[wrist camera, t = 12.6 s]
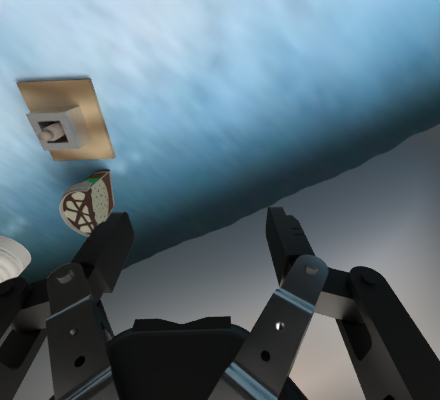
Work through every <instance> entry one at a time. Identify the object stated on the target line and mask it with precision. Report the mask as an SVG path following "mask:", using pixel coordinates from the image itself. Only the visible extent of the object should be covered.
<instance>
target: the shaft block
mask: <svg viewBox="0 0 440 400" xmlns="http://www.w3.org/2000/svg"><path fill="white" fill-rule="evenodd" d="M17 85H18V87H19V89H20V92H21V94H22V96H23V98H24V100H25V102H26V104H27V106H28V108H29V110H30V112H34V111H37V110H40V109H43V108H46V107H67V106H80V108H81V110H82V113H83V116H84V118H85V121H86V124H87V127H88V129H89V132H90V135H91V137H92V140H91V141H89V142H88V143H86V144H85V145H84V146H82V147H81V148H79V149H68V150H49V151H50V153H51V155H52V157H53V159H54V161H65V160H90V159H114V158H115V157H116V156H115V153H114V150H113V147H112V144H111V141H110V137H109V134H108V131H107V128H106V125H105V122H104V119H103V115H102V112H101V109H100V106H99V103H98V100H97V97H96V93H95V90H94V87H93V84H92V81H91V79H79V80H56V81H33V82H18V83H17ZM64 135H65V132H64V130H63V128H62V125H61V123H60V121H58V122H56V123H54V124H52V125H49V126H47V127H45V128H43V129H42V132H41V133H39V134H38V137H39V139H40V140H41V141H43V142H47V141H55V140H56V139H58V138H60V137H62V136H64Z"/></svg>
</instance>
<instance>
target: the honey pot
mask: <svg viewBox="0 0 440 400" xmlns="http://www.w3.org/2000/svg"><path fill="white" fill-rule="evenodd" d="M30 262H31V256H30V253H29V252H28V250H27V249H26V248H25V247H24V246H22V245H21V244H19V243H18V242H16V241H14V240H12V239H10V238H7V237H4V236H0V283H1V282H3V281H5V280H8V279H11V278H15V277H18V276H19V274H20V273H21V272H22V271H23V270H24V269H25V268H26V267H27V265H28V264H29V263H30Z"/></svg>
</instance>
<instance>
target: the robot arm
mask: <svg viewBox="0 0 440 400" xmlns="http://www.w3.org/2000/svg"><path fill="white" fill-rule="evenodd" d="M266 238H267V242H268V246H269V250H270V253H271V257H272V261H273V265H274V268H275V272H276V276H277V279H278V283H279V287H280V289H279V290H278V289H276V290H275V291H274V293H273V295H272V296H271V298H270V300H269V301H268V303H267V305H266V306H265V308H264V310H263V311H262V313H261V315H260V317H259V318H258V320H257V322H256V323H255V325H254V327H253V328H252V331H251V332H249V331H247V330H246V329H244V328H242V327H240V326H237V325H234V324H231V317H230V316H226V317H206V318H202V319H199V320H196V321H192V322H189V323H186V324H177V323H174V322H170V321H166V320H162V319H136V320H135V322H134V325H133V328H130V329H128V330H125V331H123V332H121V333H120V334H118V335H116V336H115V335H114V333H113V331H112V328H111V325H110V323H109V320H108V317H107V315H106V312H105V309H104V306H103V303H102V301H101V299H100V298H101V296H102V294H103V293H112V292H113V289H114V287H115V285H116V282H117V280H118V278H119V275H120V273H121V271H122V268H123V266H124V264H125V261H126V259H127V257H128V254H129V252H130V250H131V247H132V245H133V243H134V231H133V228H132V225H131V222H130V219H129V216H128V214H127V213H126V212H112V213H111V214H110V215H109V217H108V218H107V220H106V221H105V222H101V223H100V224H99V225H97V226H96V227H95V228H94V229H93V231H92V232H91V234H90V236H89V237H88V238H87V240H86V242H84V244H83V245H82V247H81V248H80V250H79V251H78V253H77V254H76V256H75V257H74V259H73V260H72V261H71V263H68V264H65V265H62V266H60V267H59V268H57V269H56V270H54V271H53V272H52V273H51V274H50V275H49V277H48V278H47V279H43V280H40V281H36V282H33V283H28V282H27V281H26V280H25V279H24V278H22V277H15V278H11V279H8V280H5V281H3V282H1V283H0V339H1V337H2V336H3V334H4V333H5V331H6V330H7V328H8V327H9V326H11V327H12V328H13V329H12V331H11V332H10V333H9V335H8V336H7V338H6V340H5V341H4V342H3V344H2V346H1V347H0V400H12V399H13V397H14V396H15V394H16V392H17V390H18V388H19V386H20V384H21V382H22V381H23V379H24V377H25V375H26V373H27V371H28V369H29V368H30V366H31V364H32V362H33V360H34V358H35V357H36V355H37V353H38V351H39V349H40V347H41V345H42V343H43V342H44V340H45V338H46V336H47V339H48V348H49V356H50V364H51V373H52V381H53V389H54V395H53V396H52V397H51V398H50V399H49V400H308V399H307V398H306V396H305V395H304V394H303V393H302V392H301V390H300V389H299V388H298V387H297V386H296V384H295V383H294V382H293V381H292V380H291V379H290V378H289V374H290V372H291V369H292V367H293V364H294V362H295V359H296V357H297V354H298V351H299V349H300V346H301V344H302V341H303V339H304V336H305V334H306V331H307V329H308V326H309V324H310V321H311V318H312V315H313V313H314V312H315V313H319V314H322V315H326V316H329V317H333V318H335V319H336V322H337V324H338V327H339V330H340V332H341V335H342V338H343V340H344V343H345V346H346V348H347V350H348V353H349V356H350V359H351V361H352V364H353V366H354V369H355V372H356V374H357V377H358V380H359V382H360V384H361V387H362V390H363V393H364V395H365V398H366V400H440V361H439V359H438V358H437V356H436V355H435V353H434V352H433V350H432V349H431V347H430V346H429V344H428V343H427V341H426V340H425V338H424V337H423V335H422V334H421V332H420V331H419V329H418V328H417V326H416V325H415V323H414V322H413V320H412V319H411V317H410V315H409V314H408V313H407V311H406V310H405V308H404V307H403V305H402V303H401V302H400V301H399V299H398V297H397V296H396V295H395V293H394V291H393V290H392V289H391V287H390V285H389V284H388V283H387V281H386V279H385V278H384V277H383V276H382V275H381V274H380V273H378V272H376V271H375V270H373V269H371V268H368V267H362V266H357V267H354V268H352V269H351V271H350V273H349V272H344V271H340V270H336V269H332V268H329V267H327V265H326V263H325V262H324V261H322V260H321V259H320V258H318V257H316V256H315V254H314V252H313V250H312V248H311V247H310V244H309V242H308V240H307V238H306V236H305V234H304V231H303V229H302V227H301V225H300V223H299V221H298V220H297V219H296V218H294V217H293V216H292V215H288V216H287V215H286V214H285V212H284V210H283V207H268V213H267V221H266Z"/></svg>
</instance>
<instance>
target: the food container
mask: <svg viewBox="0 0 440 400" xmlns="http://www.w3.org/2000/svg"><path fill="white" fill-rule="evenodd" d="M114 206H115V205H114V197H113V189H112V181H111V173H110V170H102V171H98V172H96V173H94V174H93V175H91V176H90V177H89V178H87V179H86V180H85V181H83V182H82V183H77V184H74V185H72V186H70V187H69V188H68V189H67V190H66V191H65V193H64V194H63V196H62V198H61V200H60V205H59V210H60V214H61V217H62V218H63V220H64V221H65V223H66V224H67V225H68V226H69V227H70V228H72V229H73V230H74V231H76V232H78V233H80V234H82V235H84V236H87V237H89V236H90V234H91V232H92V231H93V229H94V228H95V227H96V226H97V225H99V224H100V223H101V222H105V221H106V220H107V218H108V217H109V215H110V213H111V211H112V210H113V208H114Z"/></svg>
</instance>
